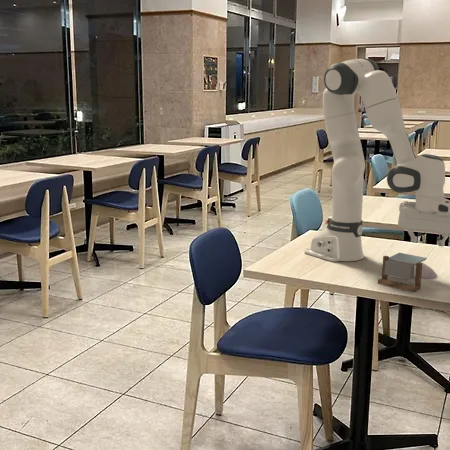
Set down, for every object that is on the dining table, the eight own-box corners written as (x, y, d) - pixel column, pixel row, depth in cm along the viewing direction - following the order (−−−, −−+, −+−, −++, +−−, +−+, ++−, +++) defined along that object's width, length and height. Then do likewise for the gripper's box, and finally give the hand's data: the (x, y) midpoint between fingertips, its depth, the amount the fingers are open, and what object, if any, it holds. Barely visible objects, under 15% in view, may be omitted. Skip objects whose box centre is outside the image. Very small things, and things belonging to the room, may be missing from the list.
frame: (377, 283, 187) (379, 258, 185) (383, 280, 190) (385, 255, 188) (414, 292, 179) (417, 266, 177) (420, 288, 182) (422, 263, 180)
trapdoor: (383, 274, 185) (384, 259, 184) (398, 266, 194) (399, 252, 193) (411, 280, 179) (412, 265, 178) (425, 272, 188) (426, 257, 187)
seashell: (416, 259, 203) (442, 260, 195) (418, 275, 203) (443, 276, 195) (398, 264, 197) (423, 265, 189) (400, 280, 197) (425, 281, 189)
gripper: (395, 202, 195) (394, 241, 198) (456, 208, 182) (454, 250, 185) (403, 199, 199) (402, 237, 202) (463, 205, 186) (461, 246, 189)
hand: (427, 244), depth 193 cm, fingers open, 8 cm apart
